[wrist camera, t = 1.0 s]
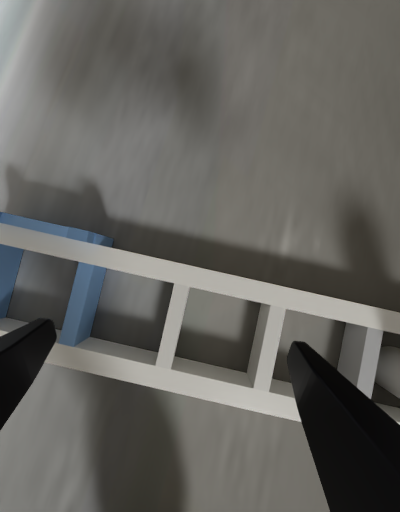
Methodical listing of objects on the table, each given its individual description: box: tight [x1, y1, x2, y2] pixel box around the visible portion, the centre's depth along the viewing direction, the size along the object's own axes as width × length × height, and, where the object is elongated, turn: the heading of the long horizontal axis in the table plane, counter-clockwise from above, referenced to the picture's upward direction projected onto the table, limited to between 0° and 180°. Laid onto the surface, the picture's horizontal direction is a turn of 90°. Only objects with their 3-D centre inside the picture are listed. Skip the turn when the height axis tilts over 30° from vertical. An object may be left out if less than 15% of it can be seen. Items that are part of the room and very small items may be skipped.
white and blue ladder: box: [0, 212, 400, 425], centre depth 21 cm, size 13×49×5 cm, turn 77°
